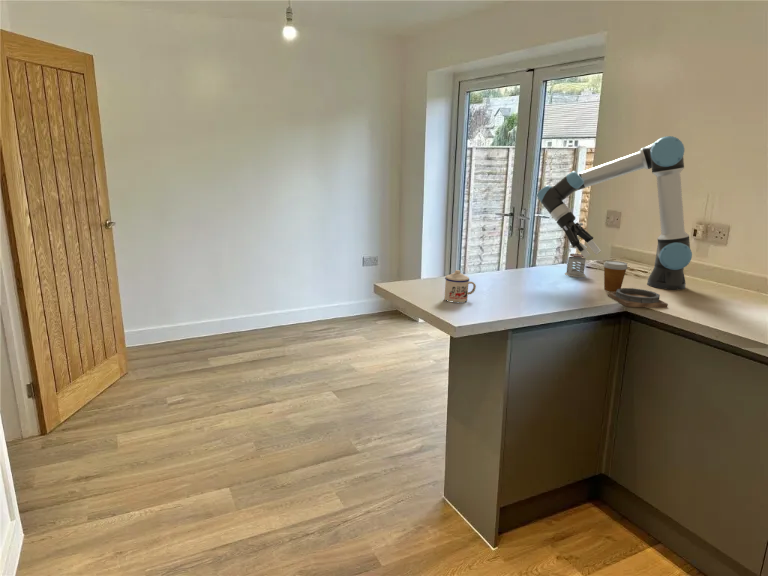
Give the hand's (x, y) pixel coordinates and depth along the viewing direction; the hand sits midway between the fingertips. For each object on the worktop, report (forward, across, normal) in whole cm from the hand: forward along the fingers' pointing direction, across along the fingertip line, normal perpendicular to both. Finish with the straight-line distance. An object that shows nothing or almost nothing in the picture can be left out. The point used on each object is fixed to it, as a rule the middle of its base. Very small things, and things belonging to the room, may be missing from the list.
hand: (593, 254), depth 231 cm
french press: (0, -19, -20) cm, 28 cm away
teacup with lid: (-10, +63, -30) cm, 70 cm away
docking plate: (+26, +12, +6) cm, 29 cm away
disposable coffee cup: (+17, 0, -3) cm, 17 cm away
